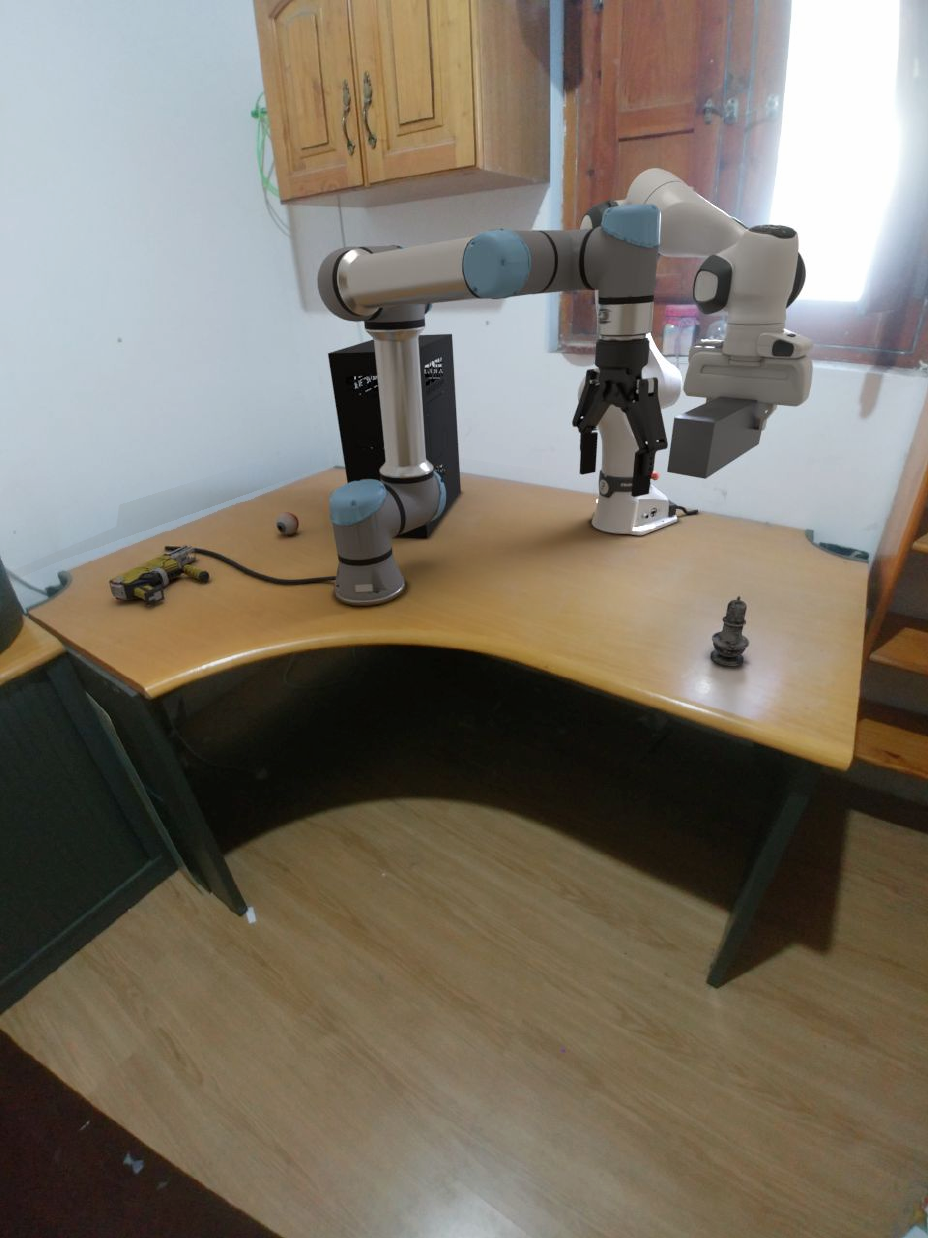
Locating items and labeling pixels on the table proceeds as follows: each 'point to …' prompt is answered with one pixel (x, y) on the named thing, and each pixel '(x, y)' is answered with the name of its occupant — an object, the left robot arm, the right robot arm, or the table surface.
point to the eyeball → (287, 523)
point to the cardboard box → (365, 421)
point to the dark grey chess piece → (731, 636)
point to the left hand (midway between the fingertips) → (612, 483)
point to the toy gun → (155, 576)
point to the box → (713, 435)
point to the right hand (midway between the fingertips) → (736, 426)
